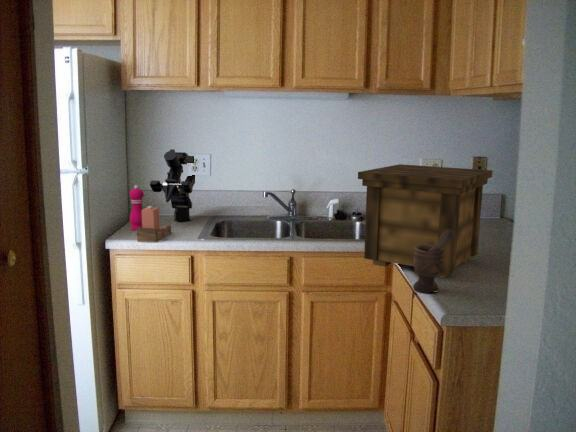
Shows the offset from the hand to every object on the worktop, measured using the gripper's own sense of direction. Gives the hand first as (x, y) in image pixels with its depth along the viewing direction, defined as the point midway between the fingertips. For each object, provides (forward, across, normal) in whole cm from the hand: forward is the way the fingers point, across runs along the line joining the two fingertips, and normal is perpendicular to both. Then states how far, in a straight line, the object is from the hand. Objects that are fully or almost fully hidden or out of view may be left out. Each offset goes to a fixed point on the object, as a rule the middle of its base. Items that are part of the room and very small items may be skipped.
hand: (167, 201), depth 233 cm
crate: (+34, -108, +16) cm, 115 cm away
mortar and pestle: (+56, -108, +38) cm, 127 cm away
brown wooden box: (+20, 0, +2) cm, 20 cm away
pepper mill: (+10, +13, -8) cm, 18 cm away
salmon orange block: (+20, 0, +7) cm, 21 cm away
